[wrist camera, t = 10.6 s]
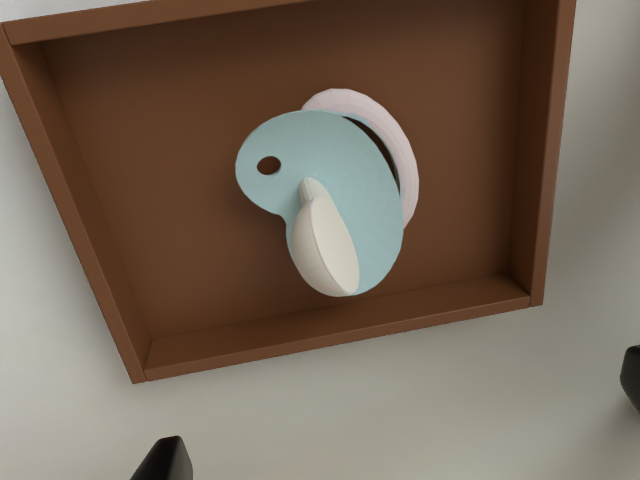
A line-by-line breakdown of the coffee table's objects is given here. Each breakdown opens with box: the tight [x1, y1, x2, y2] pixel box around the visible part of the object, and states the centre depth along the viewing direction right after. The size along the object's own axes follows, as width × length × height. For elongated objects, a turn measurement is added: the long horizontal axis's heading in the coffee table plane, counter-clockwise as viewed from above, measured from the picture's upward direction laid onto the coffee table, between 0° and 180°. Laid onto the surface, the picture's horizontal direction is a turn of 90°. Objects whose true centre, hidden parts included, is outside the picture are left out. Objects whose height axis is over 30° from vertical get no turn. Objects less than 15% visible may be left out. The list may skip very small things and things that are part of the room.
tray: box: [0, 0, 576, 384], centre depth 17 cm, size 17×13×3 cm
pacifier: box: [235, 89, 419, 297], centre depth 15 cm, size 7×6×6 cm
